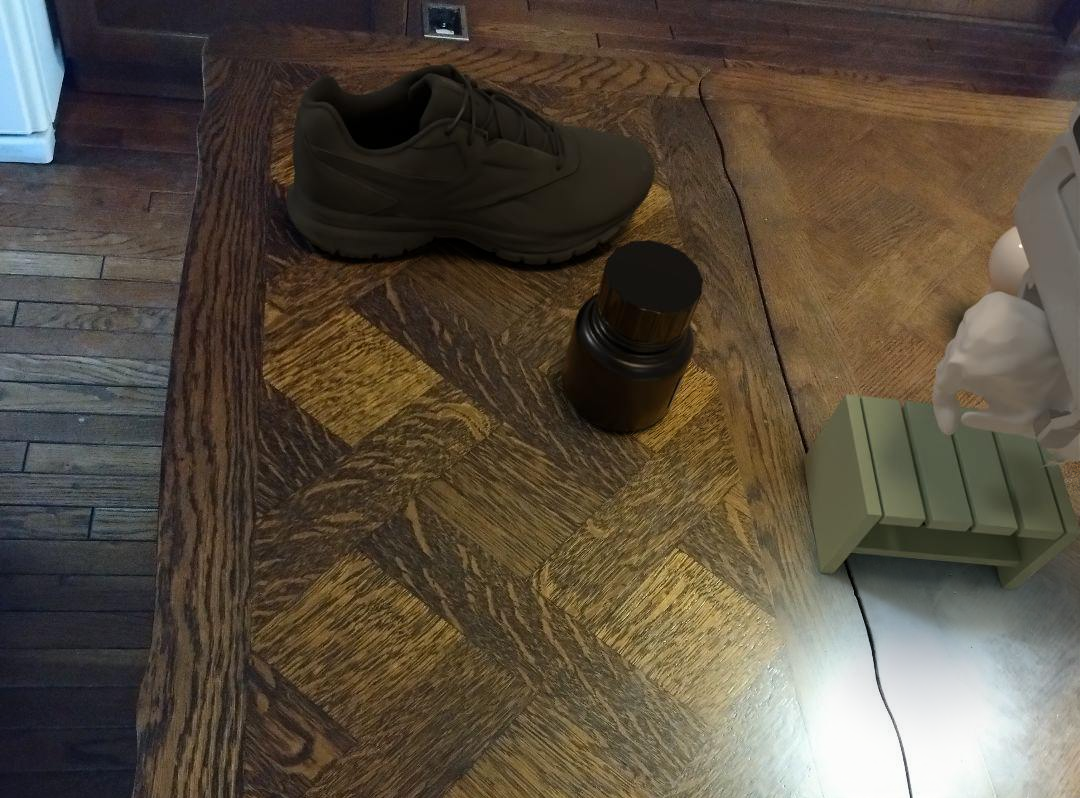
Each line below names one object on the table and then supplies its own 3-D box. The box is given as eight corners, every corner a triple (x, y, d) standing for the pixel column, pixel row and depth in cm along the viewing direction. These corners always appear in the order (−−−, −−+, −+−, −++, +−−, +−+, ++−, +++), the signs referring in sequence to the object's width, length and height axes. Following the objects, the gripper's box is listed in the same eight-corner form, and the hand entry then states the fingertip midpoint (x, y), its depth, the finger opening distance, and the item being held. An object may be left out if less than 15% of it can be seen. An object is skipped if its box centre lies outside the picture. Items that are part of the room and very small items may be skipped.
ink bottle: (696, 415, 76) (747, 306, 66) (602, 454, 73) (640, 346, 63) (628, 328, 80) (667, 212, 70) (536, 361, 77) (562, 244, 67)
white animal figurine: (1003, 258, 58) (1183, 362, 58) (922, 348, 66) (1081, 442, 65) (976, 323, 55) (1166, 434, 54) (894, 410, 62) (1061, 509, 62)
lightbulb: (1003, 368, 84) (1082, 273, 75) (935, 331, 85) (1005, 234, 76) (1023, 325, 87) (1102, 229, 78) (958, 290, 88) (1028, 191, 79)
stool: (984, 477, 78) (1044, 415, 71) (1014, 589, 73) (1081, 534, 66) (802, 459, 76) (845, 393, 69) (820, 573, 71) (868, 514, 64)
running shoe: (657, 263, 84) (703, 126, 73) (299, 290, 77) (287, 142, 65) (619, 172, 90) (657, 31, 78) (281, 189, 82) (267, 36, 71)
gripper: (1329, 376, 44) (1126, 535, 55) (1181, 88, 54) (1037, 273, 66) (1200, 361, 43) (1022, 525, 55) (1075, 72, 53) (948, 262, 65)
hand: (1029, 385), depth 60 cm, fingers closed on white animal figurine, 6 cm apart
